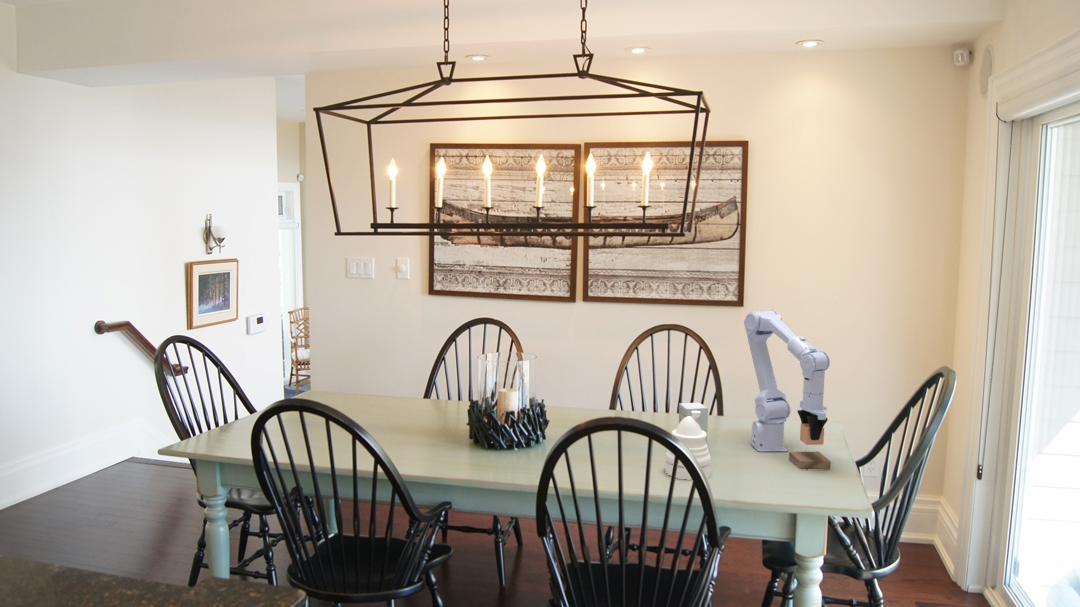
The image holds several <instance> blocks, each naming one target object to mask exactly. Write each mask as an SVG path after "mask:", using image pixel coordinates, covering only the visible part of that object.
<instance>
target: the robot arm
mask: <svg viewBox="0 0 1080 607" xmlns="http://www.w3.org/2000/svg"><path fill="white" fill-rule="evenodd" d="M743 323H744V325H743V326H744V327H745V328H744V329H745V333H746V337H747V342H748V346H749V350H750V354H751V358H752V362H753V363H752V364H753V367H754V372H755V375H756V379H757V384H758V389H759V393H758V395H757V396H756V397H755V398H754V402H755V409H754V410H755V415H756V418H757V419H758V420H756V421H753V422H752V426H751V443H750V445H751V446H752V447H753V448H754V449H755V450H756V451H757V452H788V449H787V447H785V446H784V439H785V438H784V437H785V436H784V435H785V422H787V419H788V418H789V417H790V415H791V410H792V409H791V406H790V402H789V401H788V399H787V397H786V394H785V393H783V391H781V390H780V389H778V385H777V381H776V377H775V374H774V368H773V366H772V361H771V357H770V353H769V350H768V345H767V344H768V343H767V341H768V339H769V338H771V336H772V335H773V334H774V335H776V336H777V337H778V338H779V339H780V340H782V341H783V342H784V344H785V343H786V344H787V350H788V351H789V352H790V354H791V355H793V357H794V358H795V359H797V361H799V365H800V368H801V370H802V371H801V372H802V373H801V375H802V377H803V384H802V385H803V388H802V400H799V408H801V409H798V410H797V412H796V413H797V415H798V416H799V420H800V422H801V423H800V424H809V426H810V436H811V440H819V438H820V435H821V432H822V429H823V428H825V427H824V426H825V425H826V423H827V422H828V421H829V420H828V418H827V413H826V412H825V411H826V410H827V409H828V408H827V406H825V405H824V396H825V395H824V392H825V372H826V371H827V370H828V369H829V367H830V364H831V363H830V362H831V361H830V358H829V356H828V354H827V352H826V351H824V350H819V349H816V348H815V347H814V346H813V345H812V344H810V343H809V341H808V340H807V338H806V337H805V336H801V335H796V334H794V332H793V331H792V330H791V328H789V327H788V326H787V325H786V324H785V323H784V321H783V318H782V315H781V314H780V313H778V311H777V310H773V309H772V310H764V311H761V310H760V311H749V312H748V313H747V314H746V315H745V318H744V320H743Z"/></svg>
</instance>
